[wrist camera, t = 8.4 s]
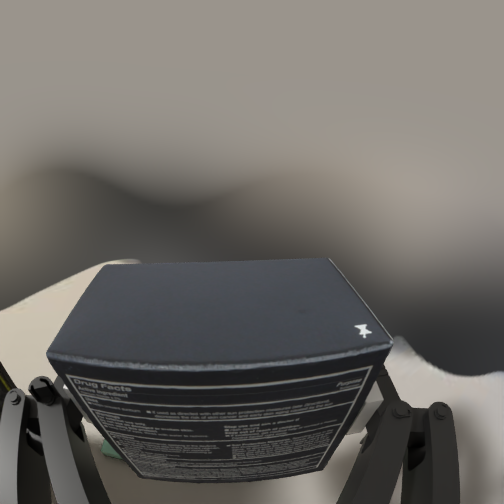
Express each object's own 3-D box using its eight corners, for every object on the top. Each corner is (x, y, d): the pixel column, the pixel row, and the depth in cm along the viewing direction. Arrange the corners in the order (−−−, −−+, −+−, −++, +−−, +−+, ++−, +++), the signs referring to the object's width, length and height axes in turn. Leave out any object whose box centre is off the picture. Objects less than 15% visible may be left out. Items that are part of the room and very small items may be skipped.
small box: (302, 389, 17) (332, 250, 12) (327, 471, 11) (408, 346, 7) (146, 395, 16) (103, 255, 11) (136, 479, 10) (36, 357, 5)
